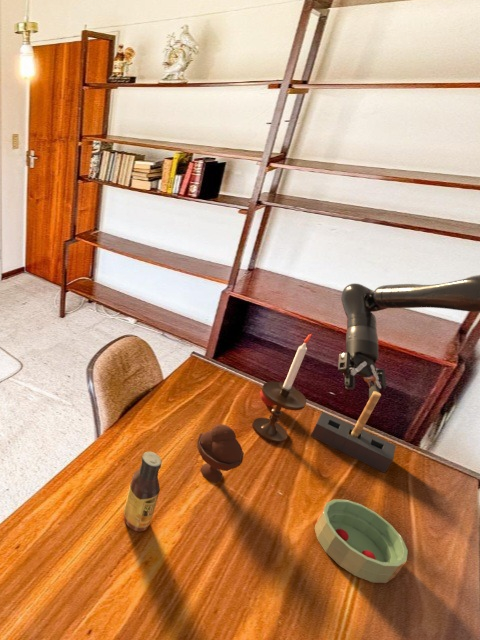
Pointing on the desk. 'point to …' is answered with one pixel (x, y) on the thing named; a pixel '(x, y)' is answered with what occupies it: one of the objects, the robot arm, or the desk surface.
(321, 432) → the stand
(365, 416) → the stirring stick
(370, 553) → the berry
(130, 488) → the sauce bottle
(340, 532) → the berry
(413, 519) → the desk surface
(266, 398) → the onion
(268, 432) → the candlestick
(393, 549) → the bowl
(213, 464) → the ice cream bowl
